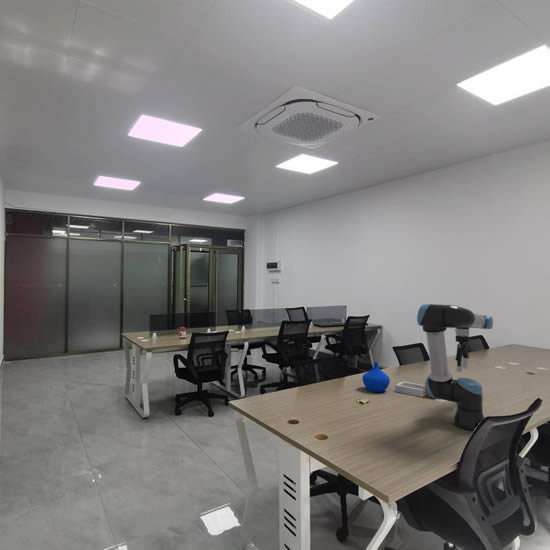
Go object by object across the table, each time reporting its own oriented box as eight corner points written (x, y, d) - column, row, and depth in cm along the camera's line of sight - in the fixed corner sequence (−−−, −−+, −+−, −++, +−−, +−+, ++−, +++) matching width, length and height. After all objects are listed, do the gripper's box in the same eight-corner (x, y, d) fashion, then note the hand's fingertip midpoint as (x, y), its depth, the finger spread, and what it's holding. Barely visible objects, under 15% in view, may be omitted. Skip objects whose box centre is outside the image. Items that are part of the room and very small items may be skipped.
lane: (429, 392, 243) (429, 386, 243) (423, 397, 233) (423, 390, 233) (402, 387, 255) (402, 381, 255) (395, 391, 245) (395, 385, 245)
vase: (380, 395, 235) (380, 366, 235) (357, 389, 248) (357, 362, 249) (394, 390, 247) (394, 363, 247) (372, 385, 260) (372, 358, 261)
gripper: (461, 333, 233) (460, 366, 232) (450, 336, 214) (450, 371, 213) (473, 334, 228) (473, 368, 227) (463, 337, 210) (463, 374, 208)
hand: (462, 370), depth 220 cm, fingers open, 13 cm apart
